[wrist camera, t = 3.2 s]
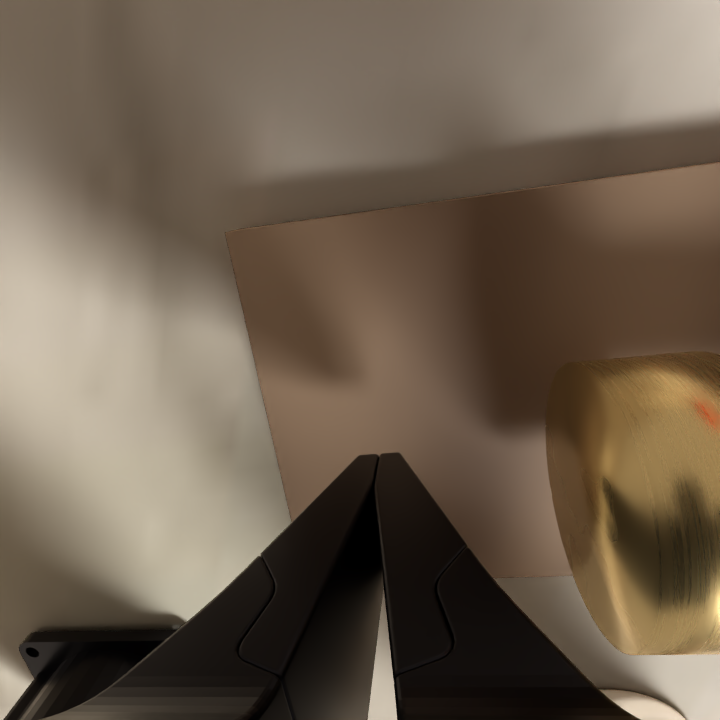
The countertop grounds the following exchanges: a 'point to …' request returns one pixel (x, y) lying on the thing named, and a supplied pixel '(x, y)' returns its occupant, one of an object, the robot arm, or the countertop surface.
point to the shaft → (641, 496)
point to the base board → (471, 334)
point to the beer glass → (642, 705)
